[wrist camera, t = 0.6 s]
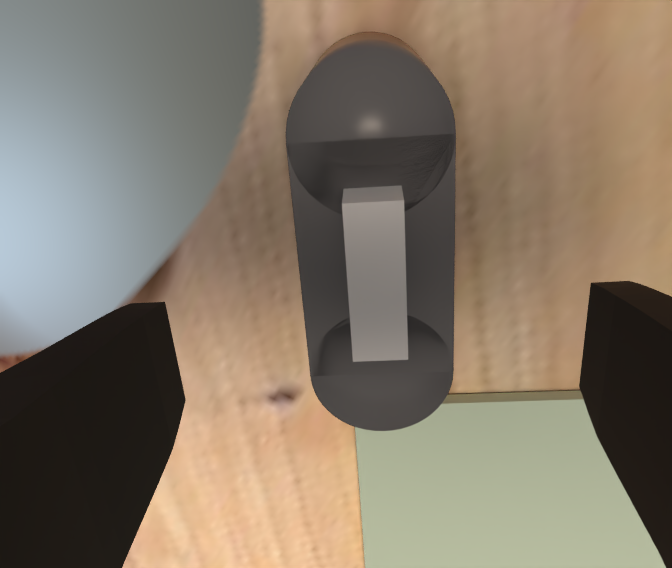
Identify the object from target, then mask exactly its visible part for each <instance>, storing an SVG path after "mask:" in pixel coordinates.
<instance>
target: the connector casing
mask: <svg viewBox="0 0 672 568" xmlns="http://www.w3.org/2000/svg"><path fill="white" fill-rule="evenodd" d="M286 147H287V157H288V166H289V176H290V185H291V195H292V204H293V214H294V223H295V233H296V242H297V252H298V261H299V271H300V280H301V290H302V300H303V309H304V319H305V328H306V338H307V347H308V357H309V366H310V376H311V381H312V386H313V388H314V391H315V393H316V395H317V397H318V399H319V400H320V402H321V403H322V405H323V406H324V407H325V408H326V409H327V410H328V411H329V412H330V413H331V414H333V415H334V416H335V417H337V418H338V419H340V420H341V421H343V422H345V423H347V424H349V425H352V426H354V427H357V428H361V429H365V430H372V431H392V430H398V429H403V428H406V427H409V426H412V425H414V424H416V423H419V422H420V421H422V420H424V419H426V418H427V417H428V416H430V415H431V414H432V413H433V412H434V411H435V410H437V409H438V408H439V406H440V405H441V404H442V403H443V401H444V400H445V398H446V396H447V395H448V392H449V390H450V388H451V384H452V380H453V356H454V257H455V158H456V129H455V119H454V114H453V110H452V107H451V104H450V101H449V99H448V97H447V94H446V92H445V90H444V89H443V87H442V86H441V84H440V83H439V81H438V80H437V79H436V77H435V76H434V75H433V74H432V72H431V71H430V70H429V68H428V67H427V66H426V64H425V63H424V62H423V61H422V59H421V58H420V57H419V55H418V54H417V53H416V52H415V51H414V50H413V49H412V48H411V47H410V46H409V45H407V44H406V43H405V42H403V41H401V40H400V39H398V38H396V37H393V36H391V35H388V34H384V33H378V32H363V33H357V34H353V35H350V36H347V37H345V38H343V39H341V40H339V41H338V42H336V43H335V44H333V45H332V46H331V47H330V48H328V49H327V50H326V52H325V53H324V54H323V55H322V56H321V57H320V59H319V60H318V62H317V63H316V65H315V66H314V68H313V69H312V70H311V72H310V73H309V75H308V76H307V78H306V79H305V81H304V82H303V84H302V85H301V87H300V88H299V90H298V92H297V94H296V96H295V97H294V99H293V102H292V104H291V107H290V110H289V114H288V118H287V124H286Z"/></svg>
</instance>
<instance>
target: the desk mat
mask: <svg viewBox="0 0 672 568" xmlns="http://www.w3.org/2000/svg"><path fill="white" fill-rule="evenodd" d="M355 434H356V448H357V462H358V476H359V489H360V503H361V517H362V531H363V545H364V559H365V568H666V566H665V564H664V562H663V560H662V558H661V556H660V554H659V552H658V550H657V548H656V546H655V545H654V543H653V541H652V539H651V537H650V535H649V533H648V532H647V530H646V528H645V526H644V524H643V522H642V520H641V519H640V517H639V515H638V513H637V511H636V509H635V507H634V506H633V504H632V502H631V500H630V498H629V496H628V494H627V493H626V491H625V489H624V487H623V485H622V483H621V481H620V480H619V478H618V476H617V474H616V472H615V470H614V468H613V466H612V465H611V463H610V461H609V459H608V457H607V455H606V453H605V451H604V449H603V447H602V445H601V443H600V442H599V440H598V438H597V435H596V433H595V430H594V427H593V425H592V422H591V419H590V417H589V414H588V411H587V408H586V405H585V402H584V399H583V396H582V393H581V390H576V391H544V392H513V393H481V394H450V395H447V396H446V398H445V400H444V401H443V403H442V404H441V405H440V406H439V408H438V409H437V410H435V411H434V412H433V413H432V414H431V415H430V416H428V417H427V418H426V419H424V420H422V421H420V422H419V423H416V424H414V425H412V426H409V427H406V428H403V429H398V430H392V431H372V430H365V429H361V428H357V427H355Z"/></svg>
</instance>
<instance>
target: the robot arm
mask: <svg viewBox="0 0 672 568" xmlns="http://www.w3.org/2000/svg"><path fill="white" fill-rule="evenodd" d="M579 387H580V390H581V393H582V396H583V399H584V402H585V405H586V408H587V411H588V414H589V417H590V419H591V422H592V425H593V427H594V430H595V433H596V435H597V438H598V440H599V442H600V443H601V445H602V447H603V449H604V451H605V453H606V455H607V457H608V459H609V461H610V463H611V465H612V466H613V468H614V470H615V472H616V474H617V476H618V478H619V480H620V481H621V483H622V485H623V487H624V489H625V491H626V493H627V494H628V496H629V498H630V500H631V502H632V504H633V506H634V507H635V509H636V511H637V513H638V515H639V517H640V519H641V520H642V522H643V524H644V526H645V528H646V530H647V532H648V533H649V535H650V537H651V539H652V541H653V543H654V545H655V546H656V548H657V550H658V552H659V554H660V556H661V558H662V560H663V562H664V564H665V566H666V568H672V297H671V296H669V295H666V294H664V293H661V292H659V291H657V290H654V289H652V288H649V287H647V286H644V285H641V284H638V283H634V282H631V281H620V282H598V283H591V287H590V296H589V305H588V313H587V322H586V331H585V340H584V349H583V358H582V367H581V375H580V384H579ZM184 404H185V395H184V390H183V386H182V381H181V376H180V371H179V366H178V362H177V357H176V352H175V347H174V343H173V338H172V333H171V328H170V324H169V319H168V314H167V309H166V305H165V302H154V303H132V304H128V305H126V306H123V307H121V308H118V309H116V310H114V311H112V312H110V313H108V314H106V315H105V316H103V317H101V318H99V319H97V320H95V321H94V322H92V323H90V324H88V325H86V326H85V327H83V328H81V329H79V330H78V331H76V332H74V333H72V334H71V335H69V336H67V337H65V338H64V339H62V340H60V341H58V342H56V343H55V344H53V345H51V346H49V347H48V348H46V349H44V350H42V351H41V352H39V353H37V354H35V355H33V356H31V357H30V358H28V359H26V360H24V361H22V362H20V363H18V364H16V365H14V366H12V367H11V368H9V369H7V370H5V371H3V372H1V373H0V568H122V567H123V564H124V561H125V559H126V557H127V554H128V552H129V550H130V548H131V545H132V543H133V541H134V538H135V536H136V534H137V531H138V529H139V527H140V524H141V522H142V520H143V518H144V515H145V513H146V511H147V508H148V506H149V504H150V501H151V499H152V497H153V495H154V492H155V490H156V488H157V485H158V483H159V481H160V478H161V476H162V473H163V471H164V469H165V466H166V464H167V462H168V459H169V457H170V454H171V452H172V449H173V446H174V443H175V439H176V435H177V432H178V428H179V425H180V420H181V416H182V412H183V408H184Z"/></svg>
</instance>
